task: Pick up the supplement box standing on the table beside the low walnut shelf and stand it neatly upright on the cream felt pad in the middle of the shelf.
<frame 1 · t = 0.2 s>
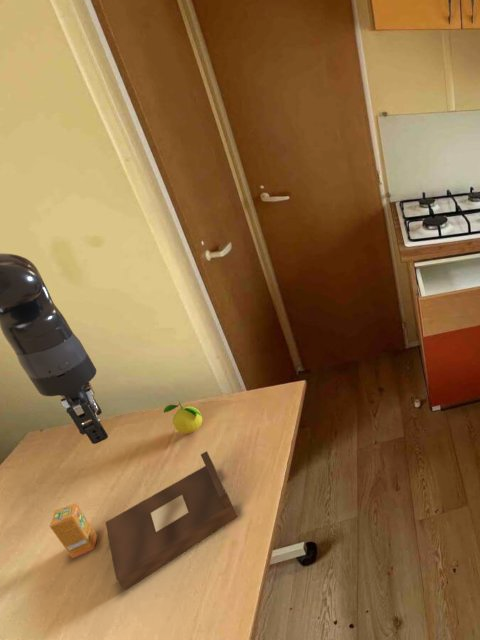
hand: (97, 427, 81), 21 cm above the table, tool pointing down, fingers open, 8 cm apart
supplement box: (87, 546, 81), on the table
lemon: (192, 431, 105), on the table
shelf: (177, 525, 85), on the table
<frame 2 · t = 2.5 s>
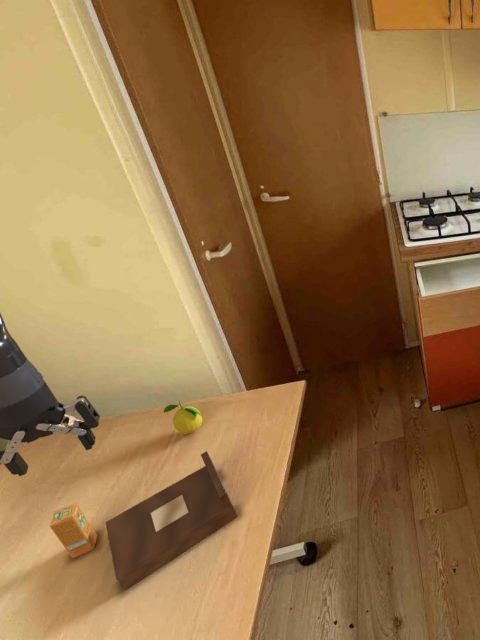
hand: (58, 458, 75), 20 cm above the table, tool pointing down, fingers open, 8 cm apart
nothing on the table moved.
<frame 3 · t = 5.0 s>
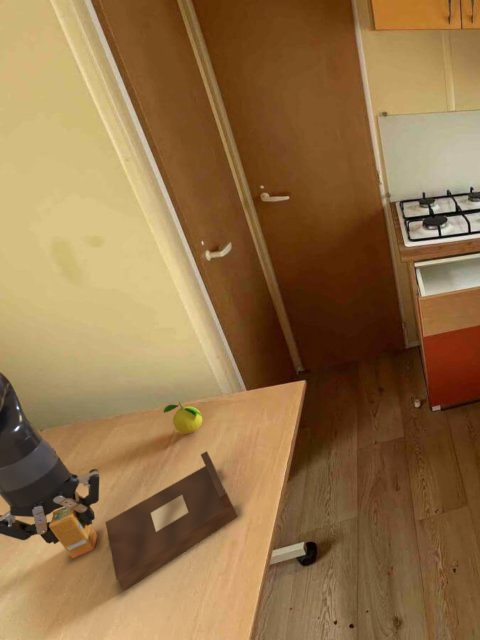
hand: (73, 529, 79), 5 cm above the table, tool pointing down, fingers closed on supplement box, 3 cm apart
supplement box: (86, 546, 81), on the table, touching gripper
everything else where it was.
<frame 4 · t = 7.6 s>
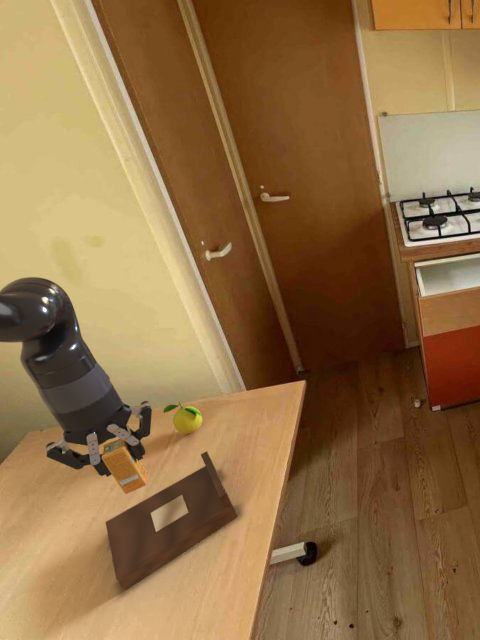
hand: (124, 464, 76), 19 cm above the table, tool pointing down, fingers closed on supplement box, 3 cm apart
supplement box: (138, 483, 78), point 14 cm above the table, touching gripper
everything else where it was.
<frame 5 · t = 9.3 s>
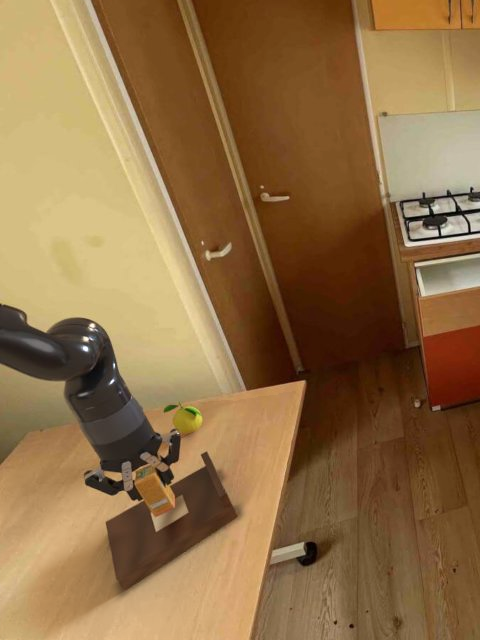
hand: (154, 488, 79), 11 cm above the table, tool pointing down, fingers closed on supplement box, 3 cm apart
supplement box: (166, 506, 82), point 6 cm above the table, touching gripper
everything else where it was.
when the fingers open (10 cm above the table, at t = 10.2 s): supplement box stays where it is, resting on shelf.
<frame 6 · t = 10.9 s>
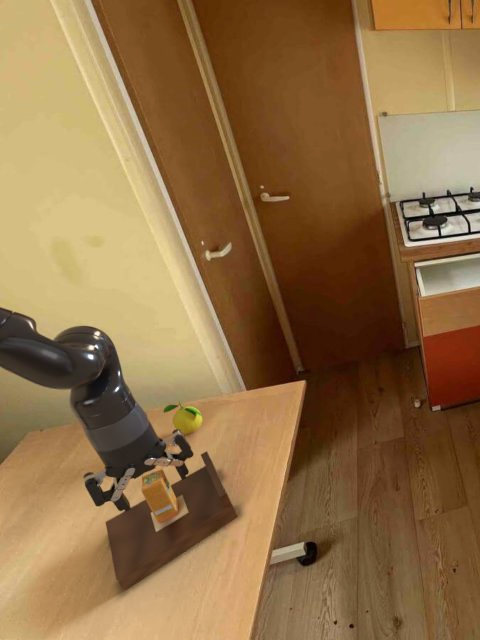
hand: (156, 491, 80), 11 cm above the table, tool pointing down, fingers open, 8 cm apart
supplement box: (170, 512, 83), point 4 cm above the table, touching shelf
everything else where it was.
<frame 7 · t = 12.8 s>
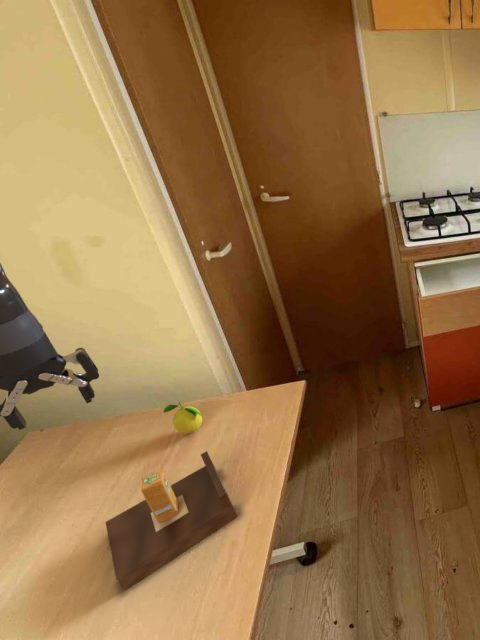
hand: (57, 412, 76), 27 cm above the table, tool pointing down, fingers open, 8 cm apart
nothing on the table moved.
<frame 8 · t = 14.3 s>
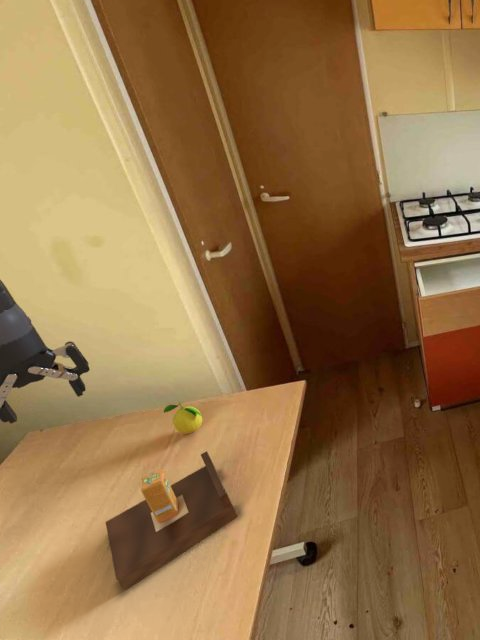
hand: (48, 406, 76), 28 cm above the table, tool pointing down, fingers open, 8 cm apart
nothing on the table moved.
at the end: supplement box 0.1 cm off-centre on the shelf, point 4.0 cm above the shelf's base; supplement box tilted 0°; the gripper is holding nothing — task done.
